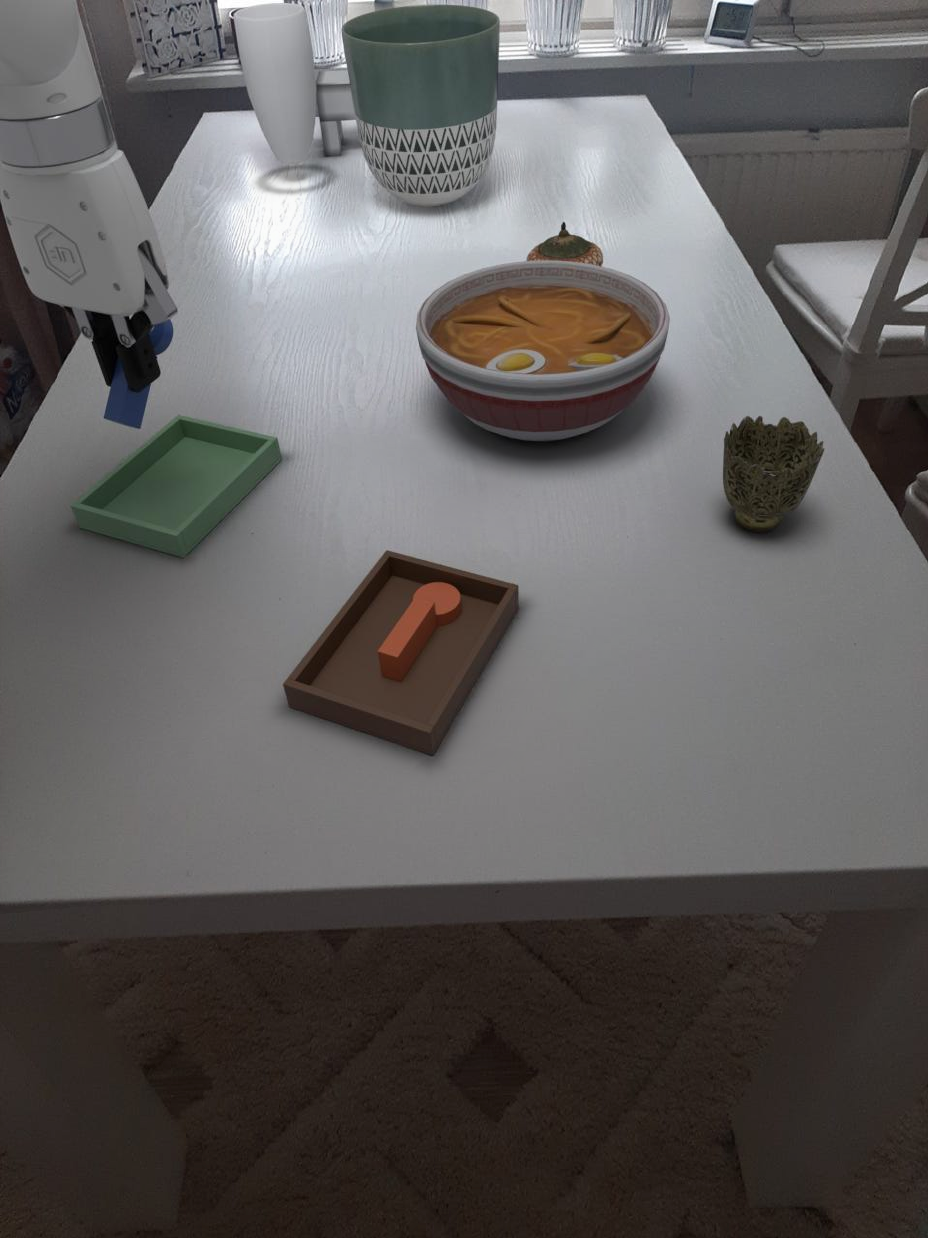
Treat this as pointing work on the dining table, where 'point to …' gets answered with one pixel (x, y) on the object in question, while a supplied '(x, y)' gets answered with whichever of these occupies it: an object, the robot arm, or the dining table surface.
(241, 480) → the green tray
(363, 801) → the dining table surface
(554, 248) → the acorn
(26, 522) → the dining table surface
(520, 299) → the bowl
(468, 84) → the planter
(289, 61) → the cup
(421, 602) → the terracotta spoon
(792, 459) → the decorative vase
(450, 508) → the dining table surface
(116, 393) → the blue spoon
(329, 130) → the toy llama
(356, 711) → the tray
